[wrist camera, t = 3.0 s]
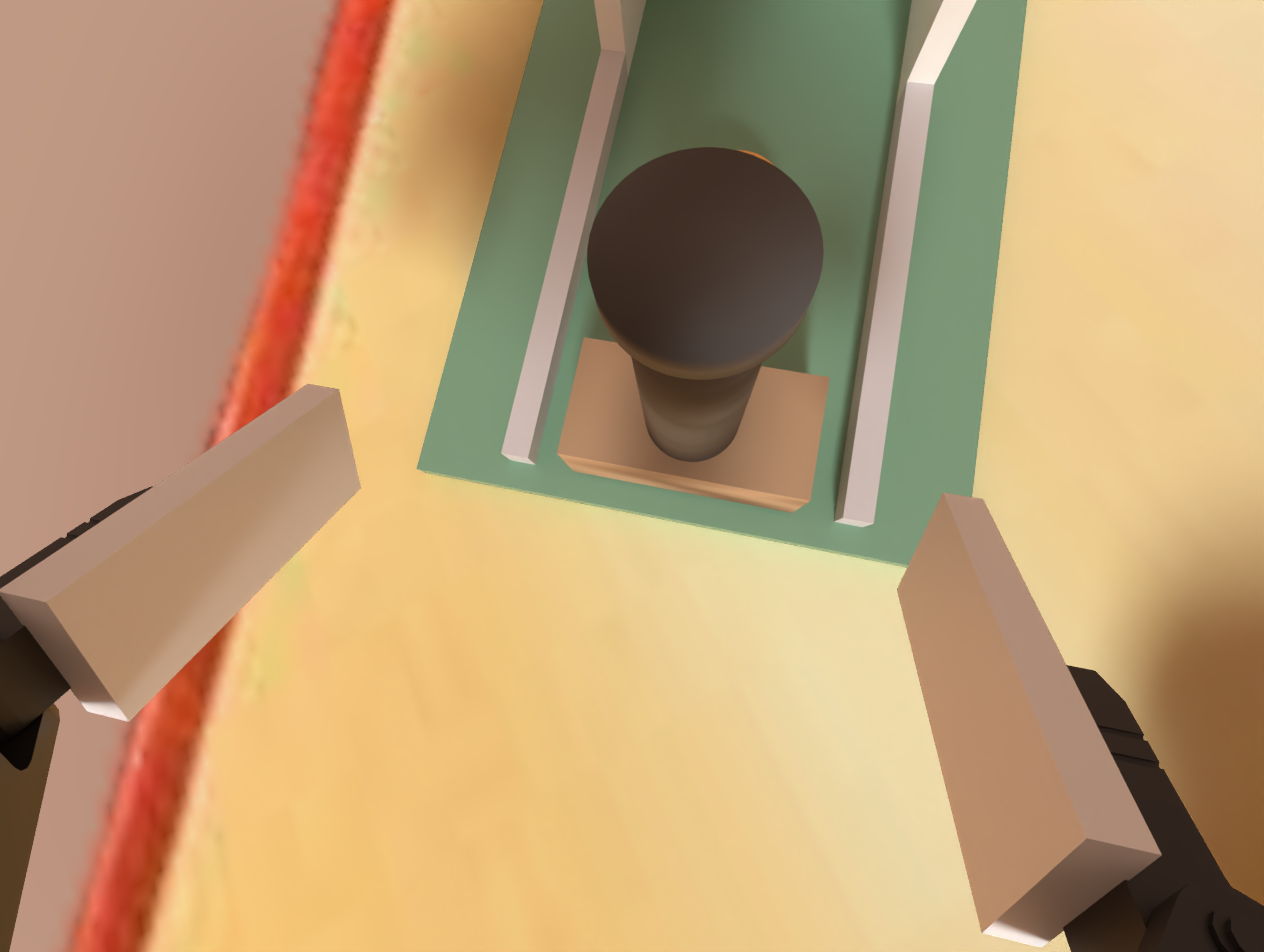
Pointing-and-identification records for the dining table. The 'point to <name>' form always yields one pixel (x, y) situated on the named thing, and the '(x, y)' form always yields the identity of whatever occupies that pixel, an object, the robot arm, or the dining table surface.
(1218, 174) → the dining table surface
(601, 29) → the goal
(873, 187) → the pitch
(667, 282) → the rubber stamp
